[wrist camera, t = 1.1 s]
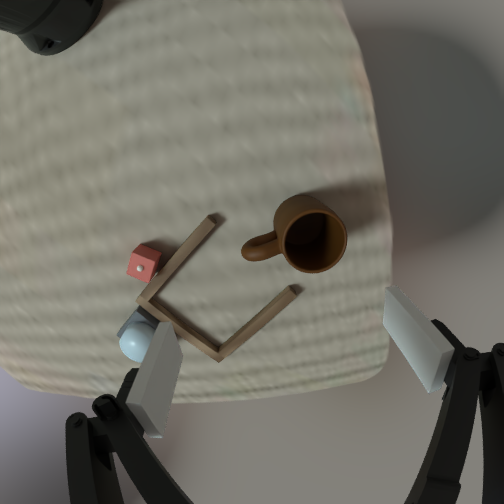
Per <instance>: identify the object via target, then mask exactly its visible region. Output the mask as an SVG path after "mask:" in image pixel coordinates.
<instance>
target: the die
mask: <svg viewBox="0 0 504 504" xmlns="http://www.w3.org/2000/svg"><path fill="white" fill-rule="evenodd" d="M161 254H162V253H161V252H159V251H156V250H154V249H152V248H149V247H147V246H144V245H142V244H140V245H139V246H138V247H137V248H136V249H135V250H134V251H133V252H132V254H131V258H130V261H129V265H128V270H127V274H128V275H130V276H132V277H135V278H137V279H139V280H142V281H144V282H146V283H149V282H150V281H151V279H152V278H153V276H154V275H155V273H156V270H157V267H158V263H159V260H160V257H161Z"/></svg>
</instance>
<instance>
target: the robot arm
mask: <svg viewBox="0 0 504 504" xmlns="http://www.w3.org/2000/svg"><path fill="white" fill-rule="evenodd" d="M102 1H103V0H0V30H3V31H6V32H10V33H13V34H16V35H17V36H18V37H19V38H20V39H21V41H22V42H23V43H24V44H25V45H26V46H27V48H28V49H29V50H31V51H32V52H34V53H37V54H40V55H45V56H47V55H53V54H56V53H59V52H61V51H63V50H65V49H66V48H68V47H69V46H71V45H72V44H73V43H75V42H76V41H77V40H78V39H79V38H80V37H81V36H82V35H83V34H84V33H85V32H86V31H87V30H88V29H89V27H90V26H91V25H92V23H93V22H94V20H95V19H96V17H97V15H98V13H99V11H100V9H101V6H102ZM383 325H384V327H385V328H386V330H387V331H388V332H389V334H390V335H391V337H392V338H393V340H394V341H395V343H396V344H397V346H398V347H399V349H400V350H401V352H402V353H403V354H404V356H405V358H406V359H407V361H408V362H409V364H410V365H411V367H412V368H413V370H414V371H415V373H416V374H417V376H418V378H419V379H420V381H421V382H422V384H423V386H424V387H425V389H426V390H427V392H428V394H429V393H432V392H435V391H437V390H440V389H441V387H442V384H443V382H445V383H446V385H447V387H446V390H445V392H444V395H443V397H442V400H443V402H442V406H441V410H440V413H439V417H438V420H437V423H436V427H435V430H434V433H433V436H432V439H431V442H430V445H429V448H428V450H427V453H426V456H425V458H424V461H423V463H422V466H421V468H420V471H419V473H418V476H417V478H416V480H415V482H414V485H413V487H412V489H411V491H410V493H409V495H408V497H407V499H406V501H405V503H404V504H455V503H456V501H457V498H458V495H459V492H460V488H461V484H460V483H459V480H460V476H461V473H462V470H463V466H464V463H465V459H466V455H467V451H468V447H469V443H470V438H471V434H472V429H473V424H474V419H475V413H476V406H477V400H478V396H479V403H480V412H481V421H482V434H483V458H484V473H483V496H482V504H504V343H497V344H495V345H494V346H493V348H492V351H491V352H486V353H480V352H479V351H478V350H476V349H474V348H470V347H467V348H466V347H465V346H464V345H463V344H462V343H461V342H460V341H459V340H458V339H457V338H456V336H455V335H454V334H452V332H451V331H450V330H449V329H448V328H447V327H446V326H445V325H444V324H443V323H442V322H440V321H438V320H436V319H434V320H431V321H430V320H429V319H428V318H427V317H426V316H425V315H424V314H423V313H422V311H421V310H419V308H418V307H417V306H416V305H415V304H414V303H413V302H412V301H411V300H410V299H409V298H408V297H407V296H406V295H405V294H404V292H403V291H401V290H400V288H399V287H398V286H397V285H395V286H390V287H386V291H385V305H384V317H383ZM182 359H183V354H182V351H181V348H180V345H179V343H178V340H177V337H176V334H175V332H174V329H173V326H172V323H171V321H169V322H159V324H158V327H157V329H156V331H155V333H154V336H153V338H152V340H151V342H150V345H149V347H148V349H147V352H146V354H145V356H144V359H143V361H142V363H141V366H140V368H132V369H131V370H130V371H129V372H128V373H127V374H126V376H125V379H124V382H123V383H122V385H121V388H120V390H119V392H118V395H117V397H116V398H115V397H114V396H113V395H110V394H104V395H101V396H99V397H98V398H96V399H95V401H94V402H93V404H92V409H93V411H94V412H95V414H96V415H97V416H98V417H93V418H87V416H86V415H85V414H84V413H80V412H77V413H74V414H72V415H71V416H69V417H68V419H67V420H66V460H67V475H68V486H69V495H70V502H71V504H124V501H123V497H122V493H121V490H120V486H119V482H118V477H117V473H116V468H115V464H114V459H113V454H112V452H116V453H117V454H118V457H119V459H120V460H121V462H122V464H123V466H124V467H125V469H126V471H127V473H128V474H129V476H130V478H131V480H132V481H133V483H134V484H135V486H136V487H137V489H138V491H139V492H140V494H141V495H142V497H143V498H144V500H145V501H146V503H147V504H194V503H193V502H192V501H191V500H190V499H189V498H188V496H187V495H186V494H185V493H184V492H183V491H182V489H181V488H180V487H179V486H178V484H177V483H176V482H175V481H174V479H173V478H172V477H171V476H170V474H169V473H168V472H167V470H166V469H165V468H164V466H163V465H162V464H161V462H160V461H159V460H158V459H157V457H156V456H155V454H154V453H153V451H152V450H151V448H150V447H149V445H148V444H147V442H146V441H145V439H144V438H143V434H144V431H145V432H146V434H147V435H148V437H155V438H163V435H164V431H165V427H166V423H167V418H168V414H169V410H170V406H171V402H172V398H173V394H174V390H175V386H176V382H177V378H178V375H179V371H180V367H181V363H182Z"/></svg>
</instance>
